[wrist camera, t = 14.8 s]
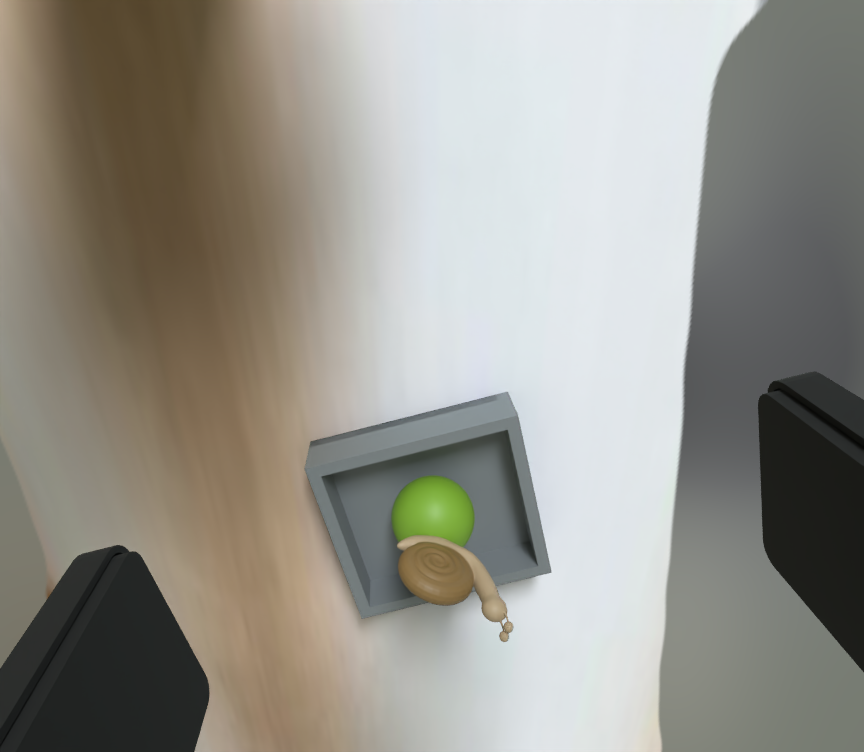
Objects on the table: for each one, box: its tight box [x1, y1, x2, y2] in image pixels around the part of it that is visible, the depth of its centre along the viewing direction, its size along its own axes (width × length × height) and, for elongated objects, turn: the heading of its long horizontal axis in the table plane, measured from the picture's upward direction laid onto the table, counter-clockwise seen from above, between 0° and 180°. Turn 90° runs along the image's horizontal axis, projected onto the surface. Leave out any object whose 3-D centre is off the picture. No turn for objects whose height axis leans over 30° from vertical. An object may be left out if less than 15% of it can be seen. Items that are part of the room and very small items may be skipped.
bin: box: [305, 392, 551, 619], centre depth 43 cm, size 13×14×4 cm
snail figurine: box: [391, 475, 513, 642], centre depth 38 cm, size 5×6×12 cm
